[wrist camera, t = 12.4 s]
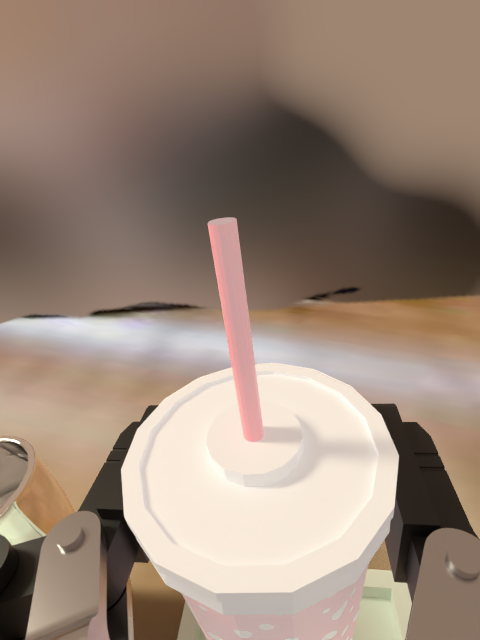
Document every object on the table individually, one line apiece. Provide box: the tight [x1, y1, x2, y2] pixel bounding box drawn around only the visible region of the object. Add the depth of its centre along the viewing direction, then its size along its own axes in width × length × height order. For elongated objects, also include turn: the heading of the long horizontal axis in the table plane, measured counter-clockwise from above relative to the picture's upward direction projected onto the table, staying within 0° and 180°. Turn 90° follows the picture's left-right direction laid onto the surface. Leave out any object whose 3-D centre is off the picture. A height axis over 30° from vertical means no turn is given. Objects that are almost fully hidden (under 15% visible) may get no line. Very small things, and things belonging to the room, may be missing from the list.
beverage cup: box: [121, 218, 399, 640], centre depth 9 cm, size 6×6×14 cm
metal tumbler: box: [0, 436, 75, 545], centre depth 20 cm, size 7×7×15 cm
